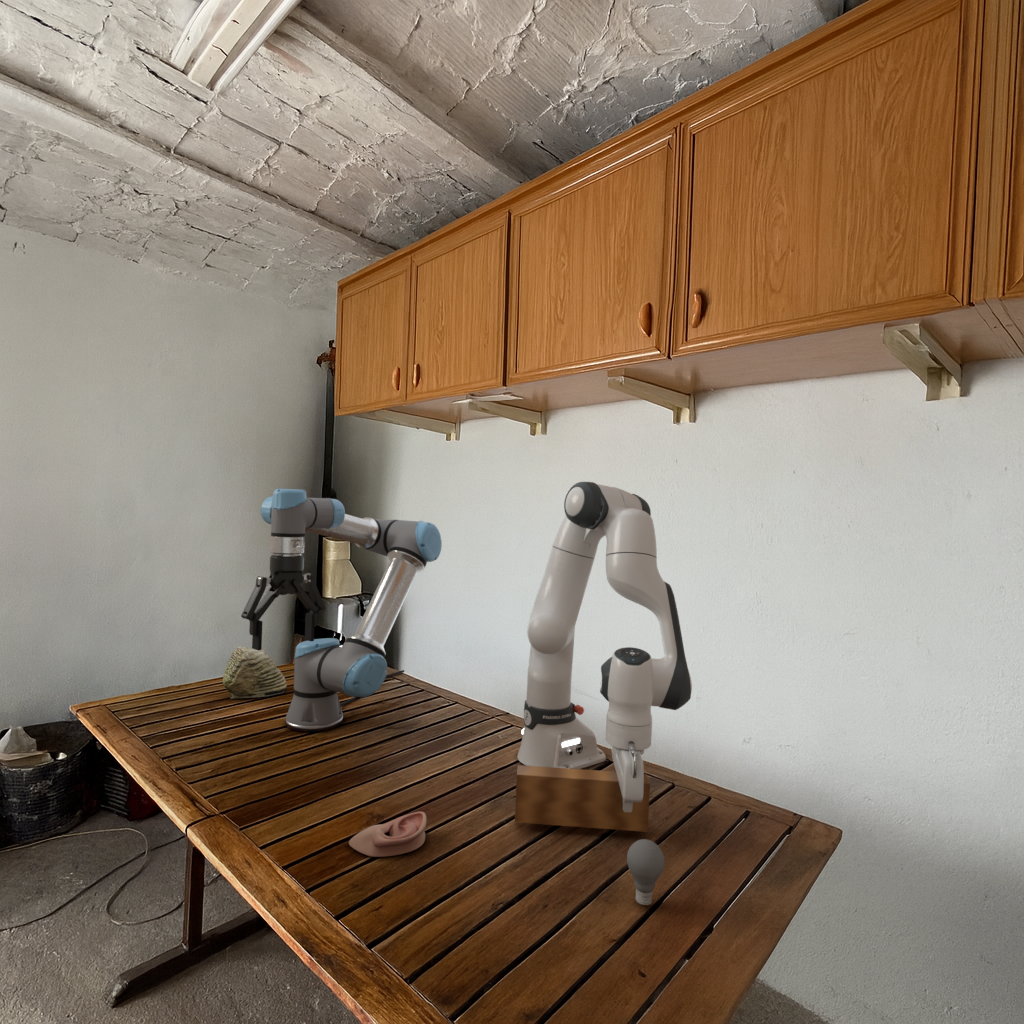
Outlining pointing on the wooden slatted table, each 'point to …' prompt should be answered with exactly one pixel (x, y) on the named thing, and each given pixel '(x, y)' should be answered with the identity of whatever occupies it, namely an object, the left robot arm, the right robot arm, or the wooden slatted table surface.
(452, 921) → the wooden slatted table surface
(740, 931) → the wooden slatted table surface
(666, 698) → the right robot arm
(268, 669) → the fossil
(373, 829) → the anatomical model
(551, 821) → the bar
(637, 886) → the light bulb
